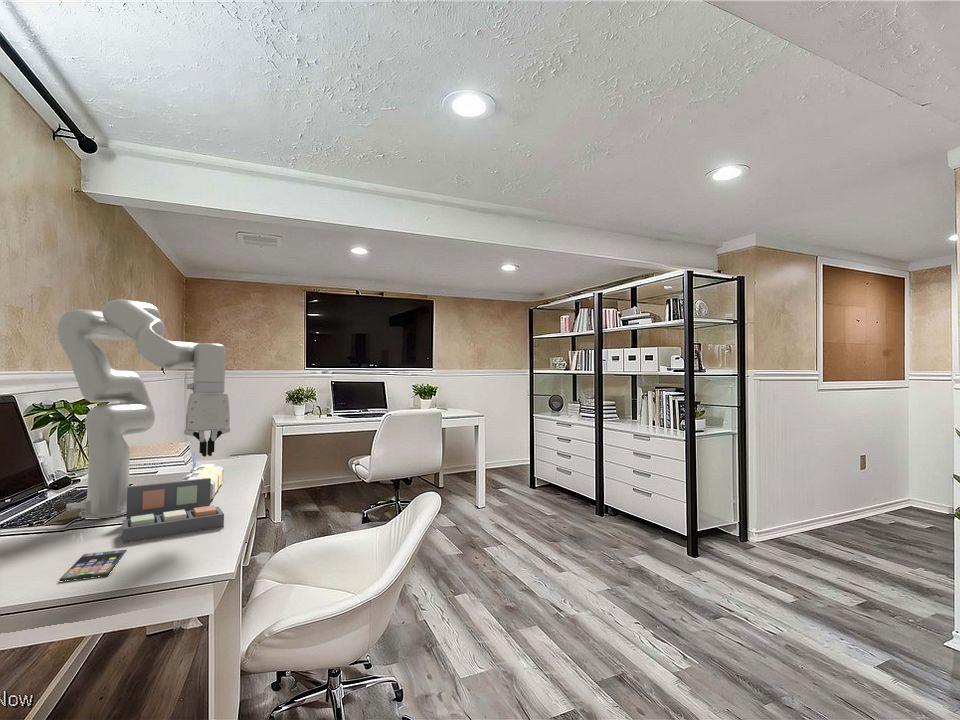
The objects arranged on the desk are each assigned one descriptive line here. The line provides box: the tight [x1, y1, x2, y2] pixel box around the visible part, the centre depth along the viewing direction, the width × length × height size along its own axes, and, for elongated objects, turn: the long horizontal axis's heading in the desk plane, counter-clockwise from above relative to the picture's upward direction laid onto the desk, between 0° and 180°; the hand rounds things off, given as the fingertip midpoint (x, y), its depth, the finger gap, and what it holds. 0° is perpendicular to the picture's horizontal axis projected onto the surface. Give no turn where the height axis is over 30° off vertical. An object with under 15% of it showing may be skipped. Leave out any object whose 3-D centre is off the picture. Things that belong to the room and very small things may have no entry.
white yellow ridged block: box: [181, 451, 225, 501], centre depth 163 cm, size 25×10×13 cm, turn 21°
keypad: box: [121, 478, 225, 544], centre depth 132 cm, size 22×19×10 cm
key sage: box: [130, 514, 155, 527], centre depth 123 cm, size 5×5×2 cm
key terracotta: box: [193, 505, 216, 517], centre depth 132 cm, size 5×5×2 cm
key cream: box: [163, 510, 187, 522], centre depth 128 cm, size 5×5×2 cm
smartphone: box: [58, 549, 127, 582], centre depth 105 cm, size 8×15×1 cm, turn 25°
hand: (206, 455), depth 132 cm, fingers closed
